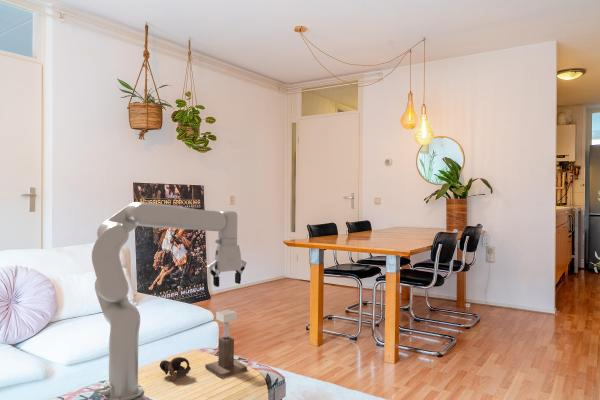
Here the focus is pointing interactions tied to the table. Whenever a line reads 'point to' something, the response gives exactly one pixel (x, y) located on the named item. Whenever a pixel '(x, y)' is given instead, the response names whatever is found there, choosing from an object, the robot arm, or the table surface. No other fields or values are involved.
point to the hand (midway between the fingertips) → (227, 284)
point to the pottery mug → (175, 367)
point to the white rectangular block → (226, 320)
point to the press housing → (226, 360)
